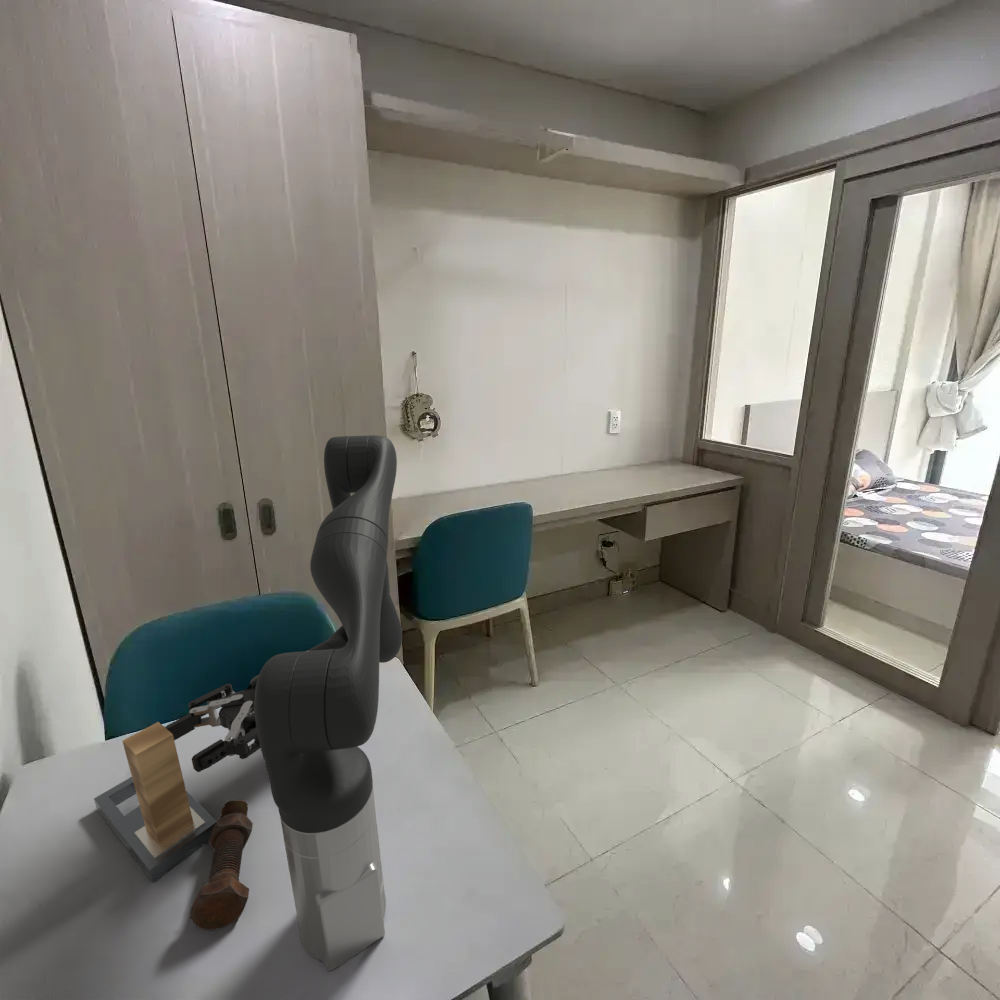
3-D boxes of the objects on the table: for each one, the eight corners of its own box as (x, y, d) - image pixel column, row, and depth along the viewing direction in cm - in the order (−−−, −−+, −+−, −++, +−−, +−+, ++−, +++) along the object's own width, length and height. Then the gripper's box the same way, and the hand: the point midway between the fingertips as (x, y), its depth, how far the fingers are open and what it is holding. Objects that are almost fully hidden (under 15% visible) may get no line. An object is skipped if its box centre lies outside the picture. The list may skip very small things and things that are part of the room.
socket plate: (219, 833, 68) (216, 820, 67) (152, 882, 62) (149, 868, 61) (159, 772, 78) (156, 760, 78) (97, 809, 72) (93, 797, 71)
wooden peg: (193, 823, 67) (172, 734, 63) (160, 846, 64) (136, 754, 60) (179, 808, 69) (158, 721, 65) (146, 830, 66) (122, 740, 62)
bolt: (245, 826, 71) (231, 934, 58) (206, 822, 69) (183, 932, 55) (263, 790, 71) (253, 889, 57) (224, 784, 69) (205, 886, 55)
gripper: (261, 649, 82) (147, 705, 69) (316, 680, 74) (199, 750, 61) (268, 689, 84) (159, 751, 71) (322, 724, 76) (210, 800, 63)
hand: (178, 751), depth 66 cm, fingers open, 8 cm apart
